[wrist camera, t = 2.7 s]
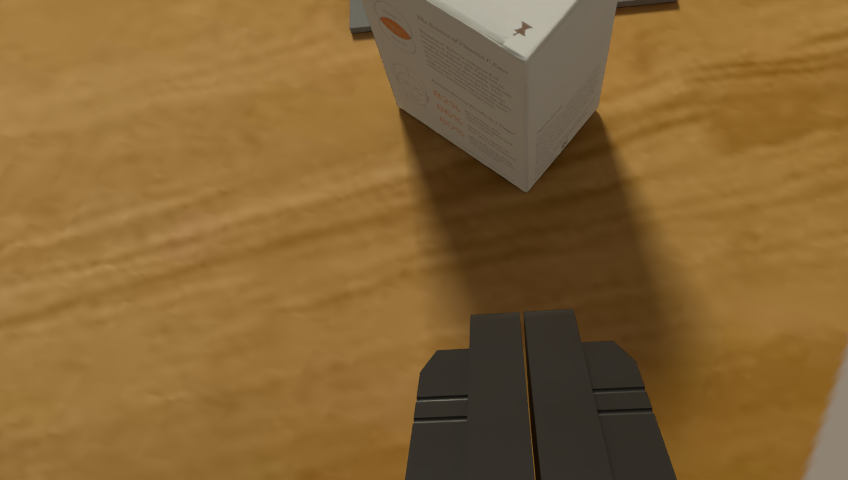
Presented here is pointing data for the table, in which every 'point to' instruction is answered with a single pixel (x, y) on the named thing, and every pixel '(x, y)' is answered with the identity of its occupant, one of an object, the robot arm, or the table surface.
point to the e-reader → (362, 25)
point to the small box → (497, 73)
